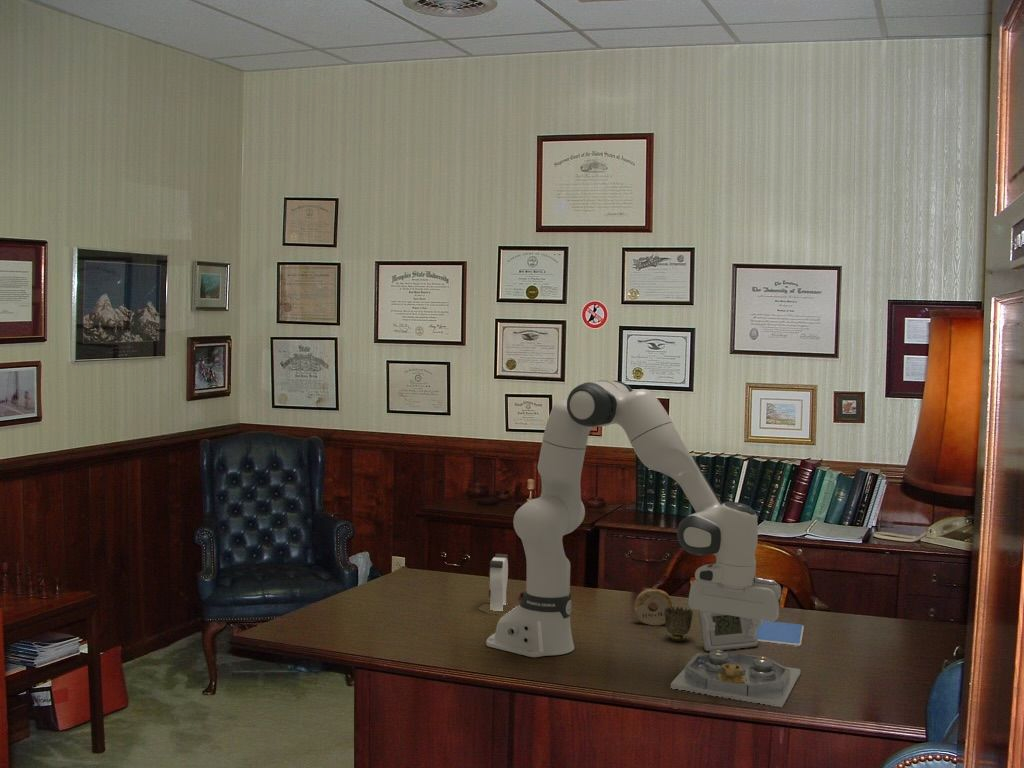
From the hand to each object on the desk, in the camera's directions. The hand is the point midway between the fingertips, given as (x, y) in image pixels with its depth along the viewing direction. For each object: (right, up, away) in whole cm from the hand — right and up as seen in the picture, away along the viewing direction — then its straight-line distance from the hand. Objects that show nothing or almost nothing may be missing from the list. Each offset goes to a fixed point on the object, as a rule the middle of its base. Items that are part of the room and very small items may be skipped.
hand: (731, 634), depth 238 cm
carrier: (+3, -12, +6) cm, 14 cm away
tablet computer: (+22, -12, +45) cm, 52 cm away
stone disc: (-11, -10, +51) cm, 53 cm away
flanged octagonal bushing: (0, -12, 0) cm, 12 cm away
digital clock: (+6, -11, +32) cm, 35 cm away
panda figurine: (-54, -8, +63) cm, 83 cm away
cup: (-6, -11, +37) cm, 39 cm away
